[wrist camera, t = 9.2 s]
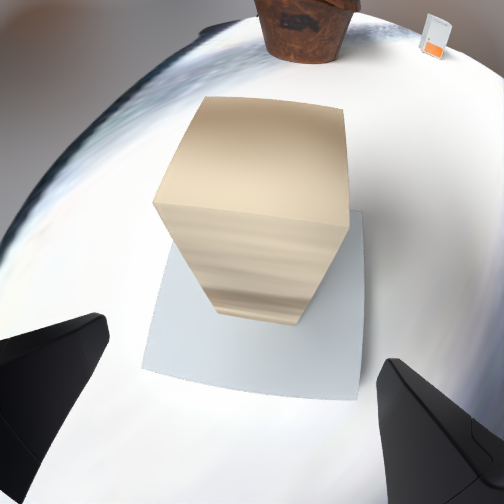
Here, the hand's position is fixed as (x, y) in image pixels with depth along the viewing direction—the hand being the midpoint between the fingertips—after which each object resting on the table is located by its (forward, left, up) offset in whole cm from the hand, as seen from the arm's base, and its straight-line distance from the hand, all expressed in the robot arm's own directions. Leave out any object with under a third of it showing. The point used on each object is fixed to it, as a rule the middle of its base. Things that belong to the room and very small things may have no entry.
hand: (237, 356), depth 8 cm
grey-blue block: (+3, +4, -12) cm, 13 cm away
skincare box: (+72, +36, -12) cm, 82 cm away
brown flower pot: (+31, +39, -12) cm, 52 cm away
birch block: (+3, +4, -9) cm, 11 cm away
